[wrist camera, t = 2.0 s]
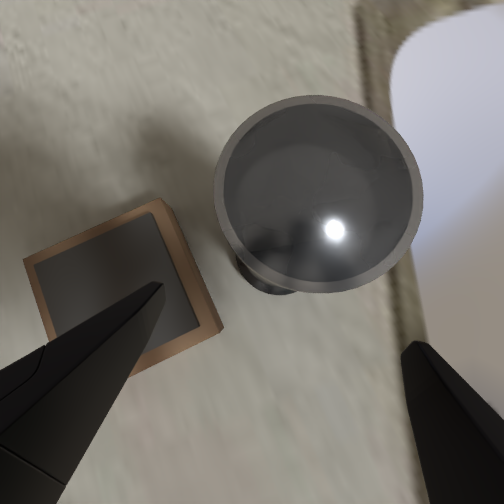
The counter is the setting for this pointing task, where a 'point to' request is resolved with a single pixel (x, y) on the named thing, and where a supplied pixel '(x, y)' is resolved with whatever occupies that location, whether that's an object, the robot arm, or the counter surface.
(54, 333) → the stand
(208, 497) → the counter surface
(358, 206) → the grey plastic cylinder
